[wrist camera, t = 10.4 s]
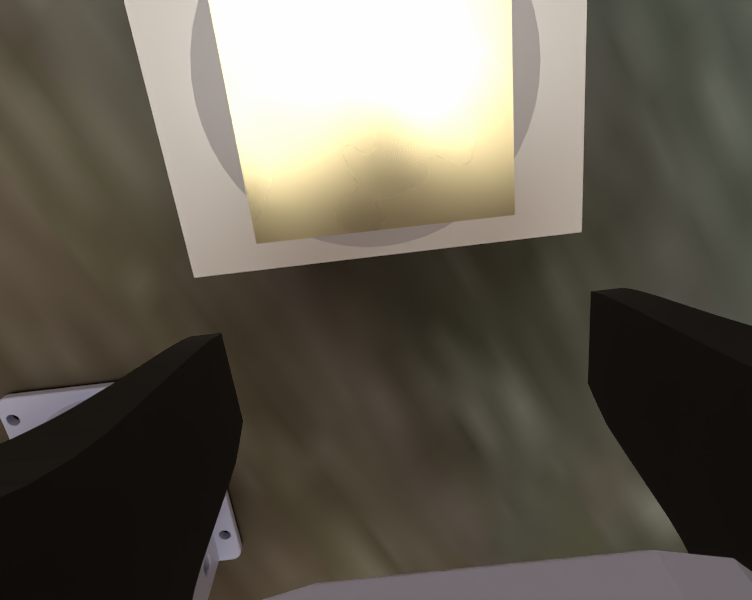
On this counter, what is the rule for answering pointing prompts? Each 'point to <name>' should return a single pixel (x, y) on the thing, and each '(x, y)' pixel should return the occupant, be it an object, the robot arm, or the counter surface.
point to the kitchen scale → (241, 253)
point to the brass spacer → (369, 112)
